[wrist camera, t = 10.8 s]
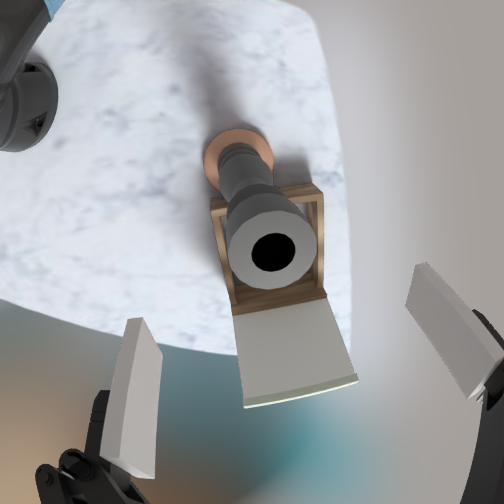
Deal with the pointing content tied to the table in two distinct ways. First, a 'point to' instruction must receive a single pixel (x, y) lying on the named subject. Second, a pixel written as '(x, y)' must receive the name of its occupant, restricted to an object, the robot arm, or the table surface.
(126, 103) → the table surface
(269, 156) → the saucer
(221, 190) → the candle holder
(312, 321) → the frame lid
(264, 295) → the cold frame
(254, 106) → the table surface
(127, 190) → the table surface
